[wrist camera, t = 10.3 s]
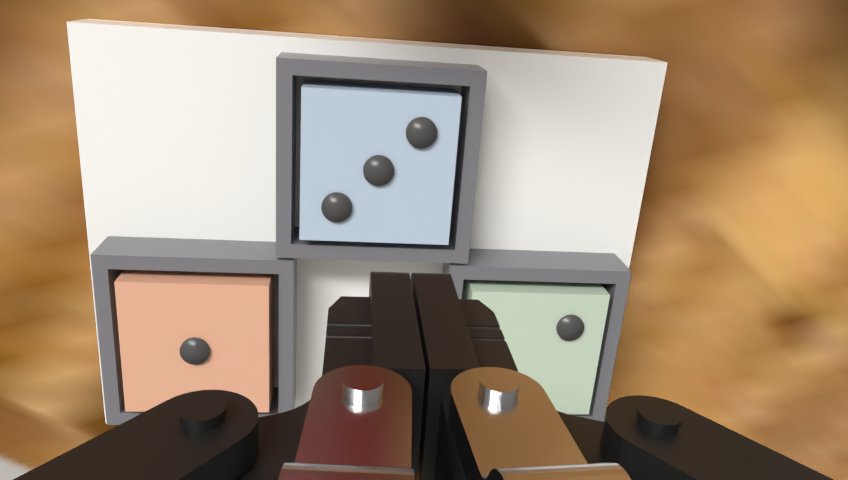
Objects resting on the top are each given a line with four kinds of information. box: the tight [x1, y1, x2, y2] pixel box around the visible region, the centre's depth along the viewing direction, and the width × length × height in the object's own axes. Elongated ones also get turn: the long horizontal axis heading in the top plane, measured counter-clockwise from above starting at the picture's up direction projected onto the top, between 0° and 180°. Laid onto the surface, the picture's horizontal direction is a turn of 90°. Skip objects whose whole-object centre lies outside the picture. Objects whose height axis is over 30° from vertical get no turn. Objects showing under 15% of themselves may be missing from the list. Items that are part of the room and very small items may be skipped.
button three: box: [299, 80, 462, 245], centre depth 23 cm, size 5×5×2 cm
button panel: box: [67, 19, 667, 425], centre depth 26 cm, size 20×15×4 cm
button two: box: [462, 279, 610, 414], centre depth 26 cm, size 5×5×2 cm
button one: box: [114, 270, 274, 412], centre depth 25 cm, size 5×5×2 cm
